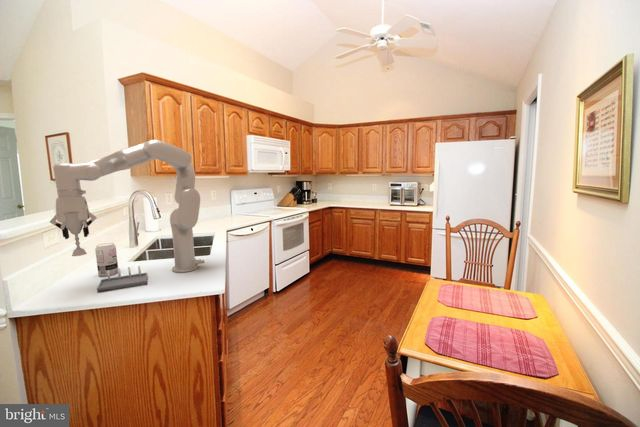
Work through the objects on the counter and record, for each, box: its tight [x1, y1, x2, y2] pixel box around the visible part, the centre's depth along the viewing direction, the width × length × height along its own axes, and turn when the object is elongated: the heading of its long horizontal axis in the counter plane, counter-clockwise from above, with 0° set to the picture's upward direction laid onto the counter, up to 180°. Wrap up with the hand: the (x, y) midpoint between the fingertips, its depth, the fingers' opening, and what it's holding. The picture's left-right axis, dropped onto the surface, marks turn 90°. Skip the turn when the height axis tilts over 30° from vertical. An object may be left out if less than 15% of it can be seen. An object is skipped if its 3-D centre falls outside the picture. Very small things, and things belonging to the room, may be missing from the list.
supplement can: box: [95, 242, 119, 277], centre depth 146 cm, size 8×8×15 cm
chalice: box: [64, 212, 88, 257], centre depth 123 cm, size 7×7×18 cm
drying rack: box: [96, 265, 149, 294], centre depth 133 cm, size 18×12×6 cm, turn 119°
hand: (76, 237), depth 124 cm, fingers closed on chalice, 5 cm apart
